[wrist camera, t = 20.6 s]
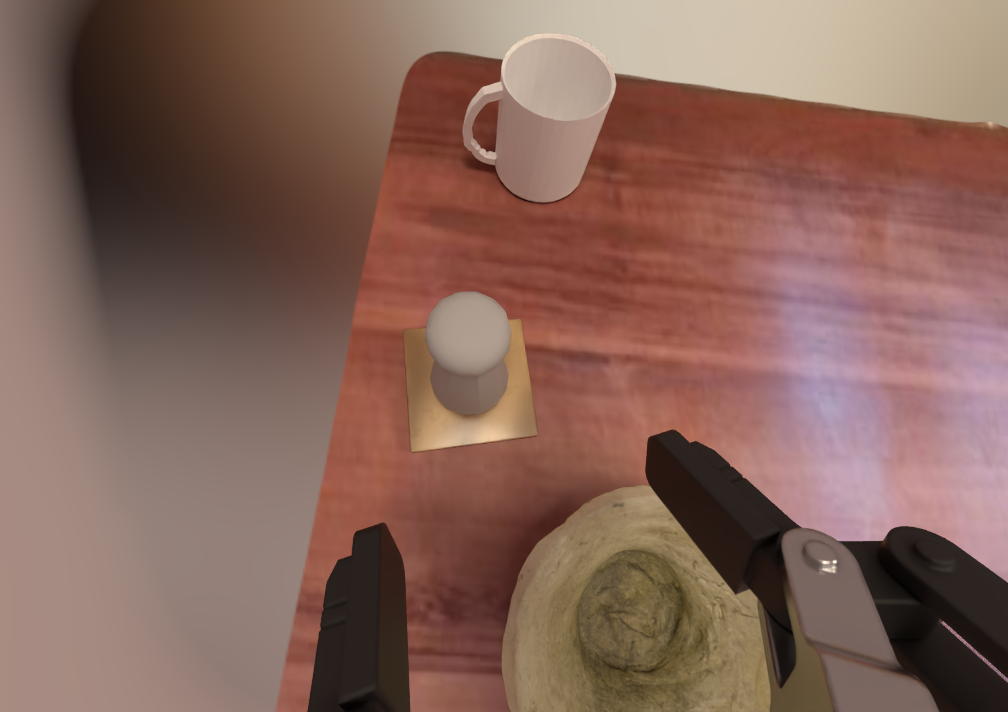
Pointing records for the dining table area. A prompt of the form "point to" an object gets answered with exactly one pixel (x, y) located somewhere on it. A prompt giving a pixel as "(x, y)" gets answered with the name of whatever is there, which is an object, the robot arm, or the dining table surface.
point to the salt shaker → (468, 352)
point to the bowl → (630, 619)
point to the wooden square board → (452, 429)
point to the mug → (545, 114)
